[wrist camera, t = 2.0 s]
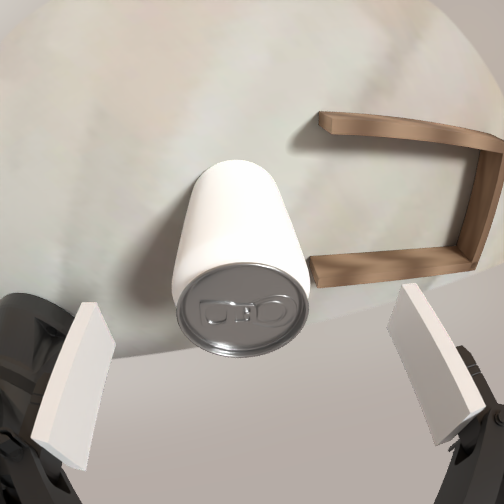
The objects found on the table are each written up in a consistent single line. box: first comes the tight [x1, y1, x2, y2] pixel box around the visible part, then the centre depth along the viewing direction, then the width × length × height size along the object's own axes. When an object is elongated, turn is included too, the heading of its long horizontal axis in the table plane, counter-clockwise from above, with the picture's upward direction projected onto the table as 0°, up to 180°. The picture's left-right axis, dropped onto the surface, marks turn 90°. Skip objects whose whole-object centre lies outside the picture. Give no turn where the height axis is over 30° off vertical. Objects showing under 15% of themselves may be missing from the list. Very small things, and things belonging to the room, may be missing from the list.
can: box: [172, 160, 310, 358], centre depth 18 cm, size 6×6×12 cm
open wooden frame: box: [309, 111, 504, 288], centre depth 22 cm, size 17×13×3 cm
